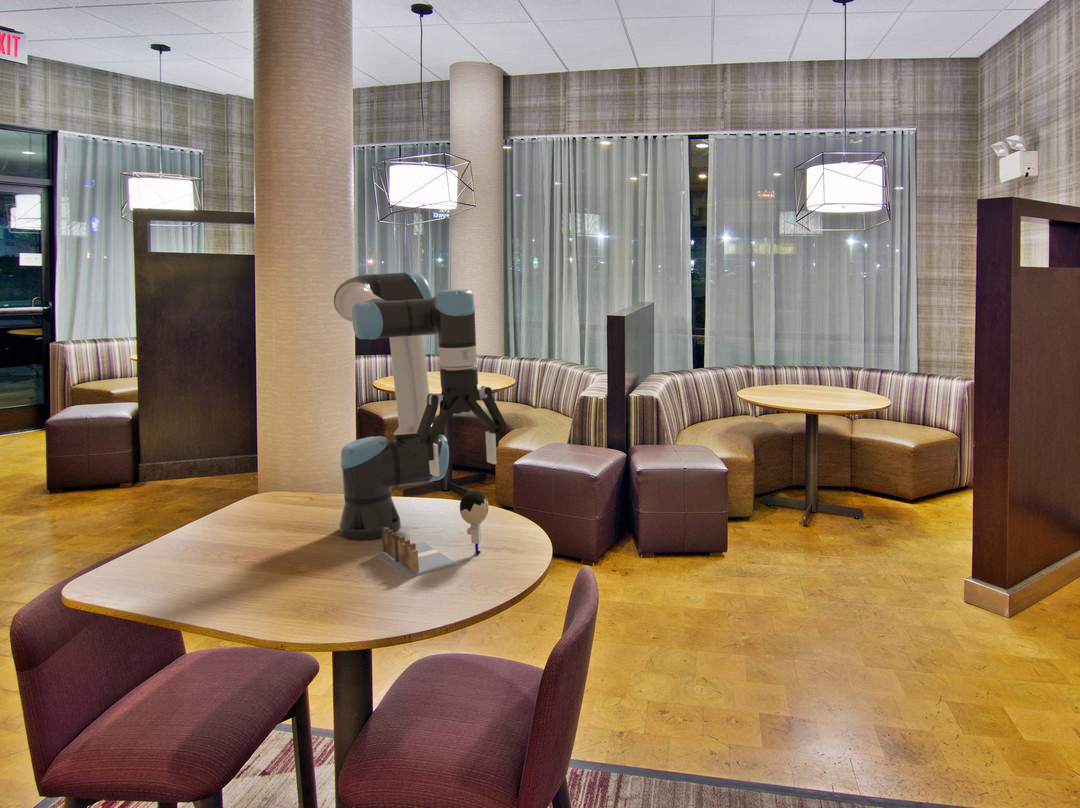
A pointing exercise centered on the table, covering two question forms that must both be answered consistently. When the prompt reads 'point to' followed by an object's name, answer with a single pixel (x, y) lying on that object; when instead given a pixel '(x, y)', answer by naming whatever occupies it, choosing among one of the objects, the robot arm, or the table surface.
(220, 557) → the table surface
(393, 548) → the fence fixed
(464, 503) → the toy
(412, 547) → the notched wooden bar
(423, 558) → the card
